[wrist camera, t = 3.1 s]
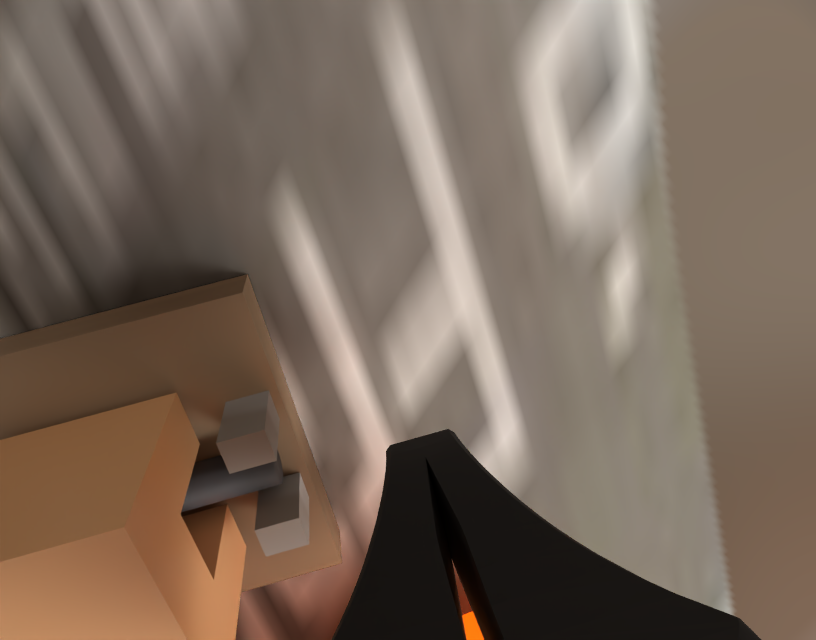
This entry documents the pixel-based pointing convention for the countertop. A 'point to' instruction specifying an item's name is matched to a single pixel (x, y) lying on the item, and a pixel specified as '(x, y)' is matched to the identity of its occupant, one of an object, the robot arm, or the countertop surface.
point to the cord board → (191, 410)
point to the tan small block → (113, 533)
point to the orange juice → (471, 627)
